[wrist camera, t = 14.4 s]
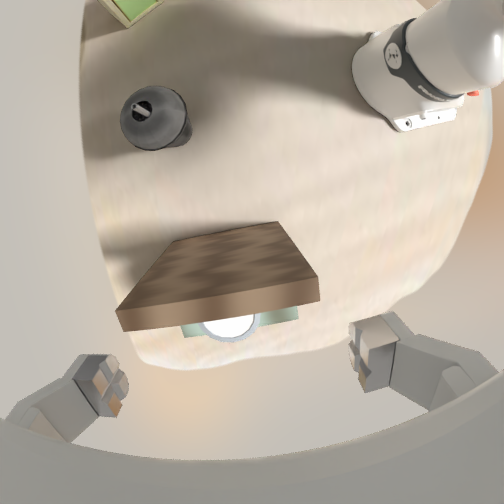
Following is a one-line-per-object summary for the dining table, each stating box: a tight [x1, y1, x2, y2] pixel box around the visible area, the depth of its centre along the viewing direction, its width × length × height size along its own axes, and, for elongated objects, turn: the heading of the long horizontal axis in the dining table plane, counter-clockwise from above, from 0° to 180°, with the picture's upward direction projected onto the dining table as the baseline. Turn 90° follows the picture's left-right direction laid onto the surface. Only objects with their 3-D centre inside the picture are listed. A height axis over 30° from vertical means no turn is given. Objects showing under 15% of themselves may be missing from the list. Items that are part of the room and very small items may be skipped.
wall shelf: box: [115, 222, 320, 338], centre depth 32 cm, size 16×12×22 cm
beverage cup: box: [120, 86, 192, 151], centre depth 27 cm, size 7×7×20 cm
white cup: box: [198, 313, 261, 342], centre depth 31 cm, size 7×7×7 cm
